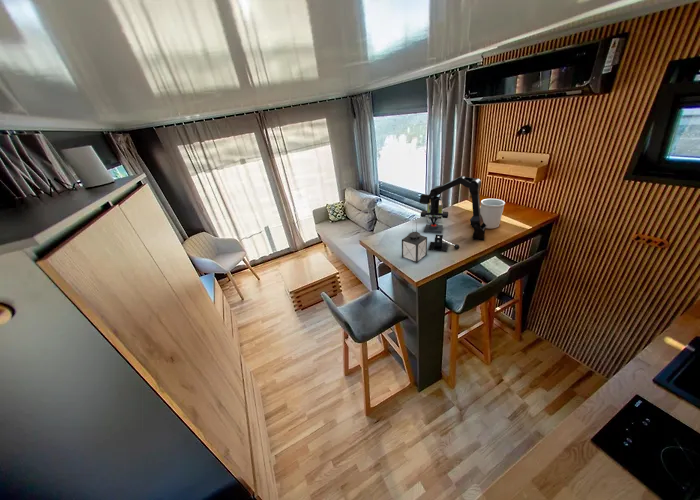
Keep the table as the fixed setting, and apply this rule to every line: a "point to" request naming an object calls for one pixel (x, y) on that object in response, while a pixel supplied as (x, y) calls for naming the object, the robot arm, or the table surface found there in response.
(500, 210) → the utensil holder
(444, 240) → the lever
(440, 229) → the button block
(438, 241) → the bracket
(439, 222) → the tea box
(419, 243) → the lantern
